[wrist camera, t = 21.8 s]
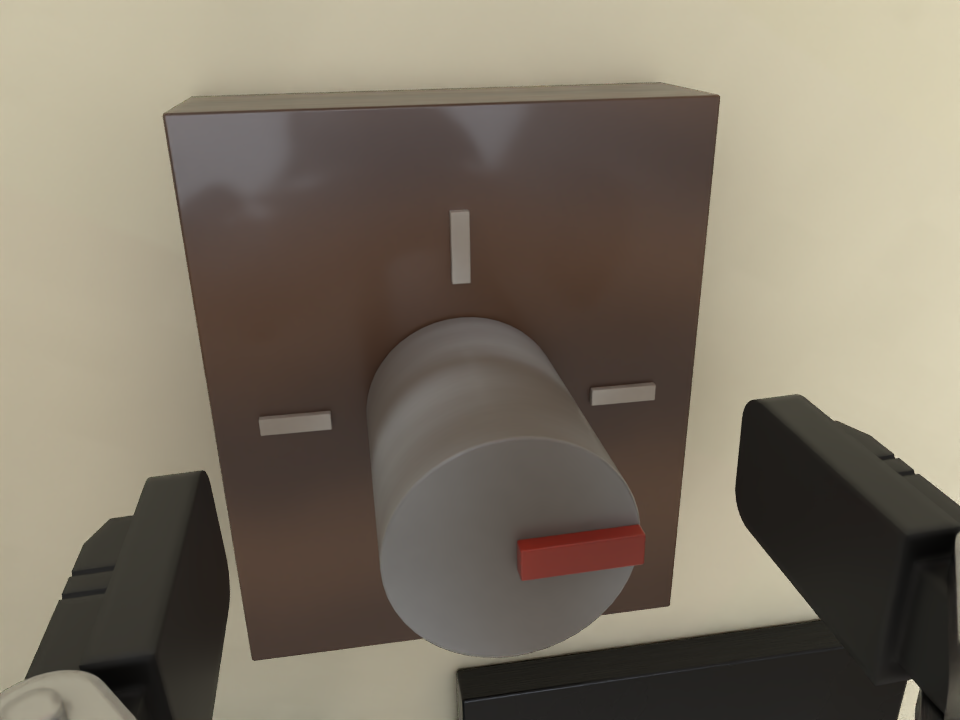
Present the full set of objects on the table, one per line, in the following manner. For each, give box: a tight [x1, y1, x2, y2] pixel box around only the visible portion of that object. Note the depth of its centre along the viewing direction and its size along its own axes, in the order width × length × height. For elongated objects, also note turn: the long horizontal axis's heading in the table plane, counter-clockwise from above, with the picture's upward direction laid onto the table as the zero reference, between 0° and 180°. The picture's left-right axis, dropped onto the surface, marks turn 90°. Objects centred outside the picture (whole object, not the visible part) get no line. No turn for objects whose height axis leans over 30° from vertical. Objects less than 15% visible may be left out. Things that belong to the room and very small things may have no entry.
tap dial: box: [366, 317, 646, 657], centre depth 14 cm, size 4×4×5 cm
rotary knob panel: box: [163, 82, 720, 661], centre depth 18 cm, size 12×10×3 cm
